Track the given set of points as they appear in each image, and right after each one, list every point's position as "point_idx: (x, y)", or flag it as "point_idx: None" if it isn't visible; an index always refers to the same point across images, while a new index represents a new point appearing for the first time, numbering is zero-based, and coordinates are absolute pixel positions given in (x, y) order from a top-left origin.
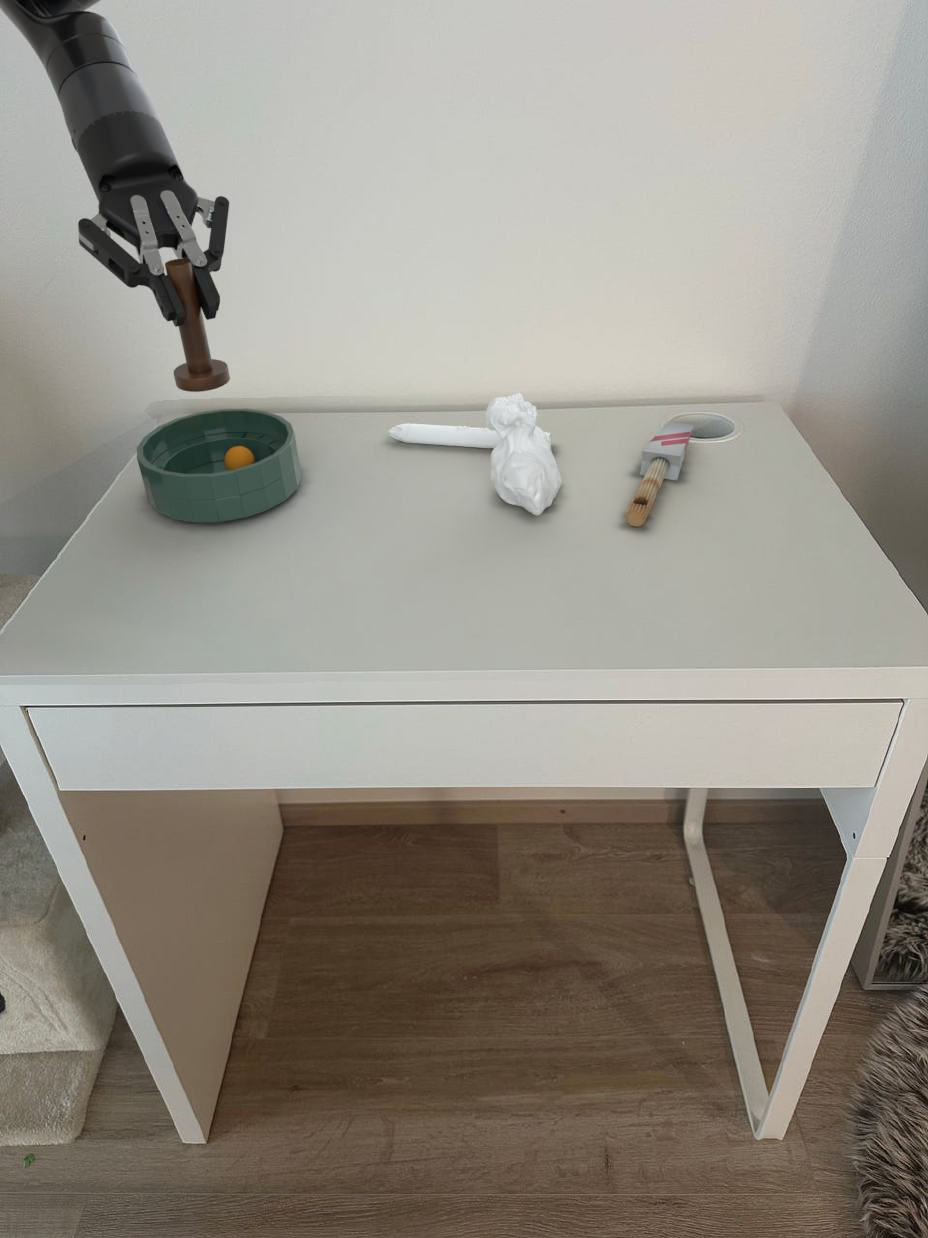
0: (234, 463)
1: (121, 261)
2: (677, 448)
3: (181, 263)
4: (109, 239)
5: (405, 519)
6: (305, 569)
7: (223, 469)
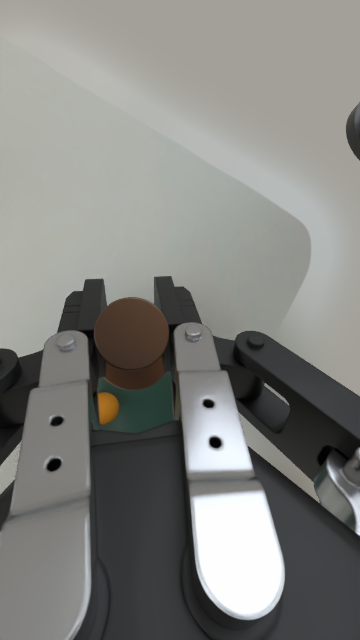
0: (112, 396)
1: (284, 351)
2: None
3: (127, 315)
4: (332, 412)
5: (4, 251)
6: (113, 229)
7: (118, 426)
